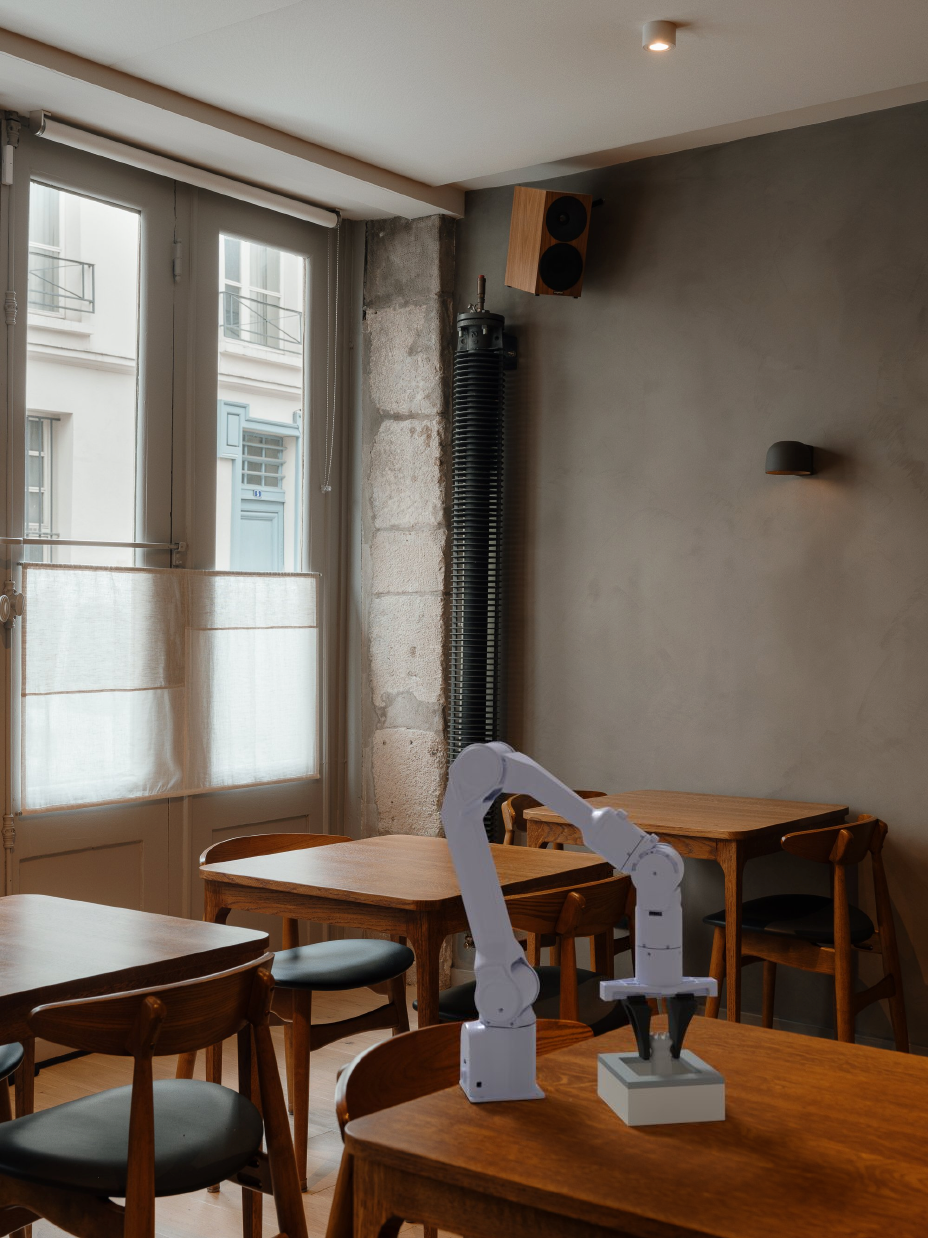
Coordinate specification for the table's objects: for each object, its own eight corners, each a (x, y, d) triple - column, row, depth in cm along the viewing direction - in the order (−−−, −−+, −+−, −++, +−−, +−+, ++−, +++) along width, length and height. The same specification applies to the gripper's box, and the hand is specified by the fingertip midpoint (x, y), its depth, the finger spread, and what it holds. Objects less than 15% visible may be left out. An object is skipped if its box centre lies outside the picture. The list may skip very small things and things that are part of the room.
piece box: (628, 1126, 148) (628, 1082, 148) (597, 1094, 160) (597, 1054, 160) (724, 1120, 150) (724, 1077, 150) (687, 1089, 162) (687, 1049, 162)
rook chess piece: (679, 1106, 151) (674, 1037, 152) (642, 1106, 153) (637, 1037, 154) (685, 1098, 155) (680, 1031, 157) (648, 1097, 157) (644, 1030, 158)
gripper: (612, 953, 151) (612, 1069, 150) (726, 949, 154) (727, 1063, 153) (594, 942, 158) (594, 1053, 157) (704, 938, 160) (705, 1048, 160)
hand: (659, 1057), depth 155 cm, fingers closed on rook chess piece, 3 cm apart
